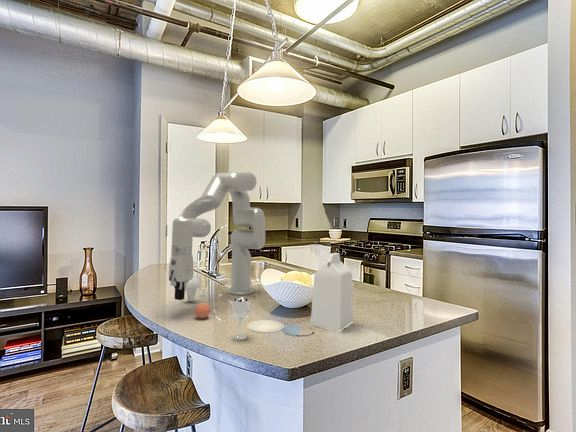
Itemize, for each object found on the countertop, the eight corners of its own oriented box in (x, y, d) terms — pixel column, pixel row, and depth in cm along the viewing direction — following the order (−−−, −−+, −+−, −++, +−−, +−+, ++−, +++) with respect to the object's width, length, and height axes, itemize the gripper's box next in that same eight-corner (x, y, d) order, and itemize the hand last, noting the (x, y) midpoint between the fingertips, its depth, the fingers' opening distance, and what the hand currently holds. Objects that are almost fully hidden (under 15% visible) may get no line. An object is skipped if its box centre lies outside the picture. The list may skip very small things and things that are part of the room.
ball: (199, 315, 131) (199, 300, 131) (212, 316, 129) (213, 302, 129) (191, 319, 126) (191, 304, 126) (205, 321, 124) (205, 305, 124)
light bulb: (194, 304, 145) (195, 278, 145) (180, 303, 147) (180, 277, 147) (201, 301, 152) (202, 276, 152) (187, 299, 153) (188, 275, 153)
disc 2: (287, 323, 124) (287, 323, 124) (317, 327, 121) (317, 327, 121) (278, 333, 114) (278, 333, 114) (310, 338, 111) (310, 337, 111)
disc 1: (254, 318, 129) (254, 318, 129) (288, 323, 125) (288, 322, 125) (240, 329, 116) (240, 329, 116) (277, 334, 113) (277, 334, 113)
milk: (340, 332, 117) (342, 256, 117) (310, 325, 123) (312, 253, 123) (352, 323, 127) (355, 253, 127) (325, 317, 133) (327, 251, 133)
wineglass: (231, 334, 112) (232, 297, 112) (249, 334, 112) (250, 297, 112) (229, 340, 106) (231, 302, 106) (248, 340, 107) (249, 302, 107)
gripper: (178, 253, 122) (176, 304, 121) (200, 250, 136) (198, 296, 136) (160, 251, 124) (158, 302, 123) (184, 249, 138) (182, 294, 138)
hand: (179, 299), depth 130 cm, fingers closed
